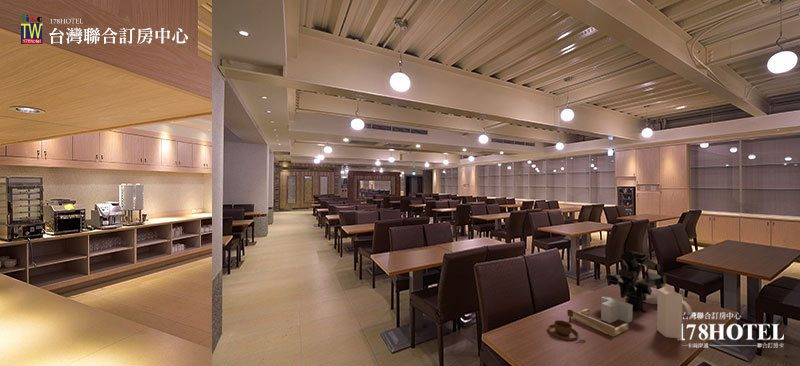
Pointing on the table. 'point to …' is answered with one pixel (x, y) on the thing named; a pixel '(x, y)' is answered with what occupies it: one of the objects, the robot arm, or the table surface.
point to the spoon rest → (654, 300)
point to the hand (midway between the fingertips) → (621, 297)
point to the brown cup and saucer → (564, 328)
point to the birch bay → (598, 323)
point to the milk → (669, 312)
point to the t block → (615, 310)
